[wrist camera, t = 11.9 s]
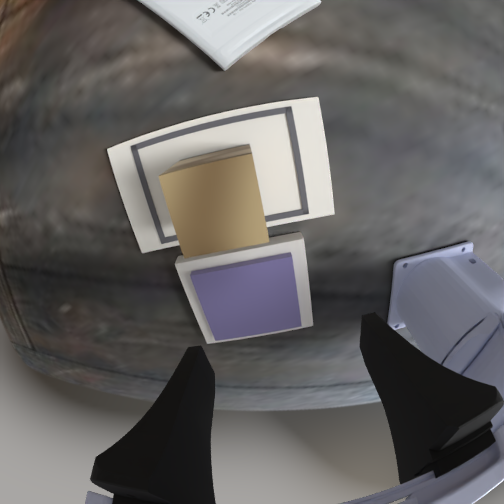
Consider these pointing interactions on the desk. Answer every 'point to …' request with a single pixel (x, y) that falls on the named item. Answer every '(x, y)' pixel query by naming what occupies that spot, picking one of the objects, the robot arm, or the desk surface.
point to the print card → (223, 137)
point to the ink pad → (249, 289)
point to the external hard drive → (228, 23)
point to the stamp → (215, 202)
